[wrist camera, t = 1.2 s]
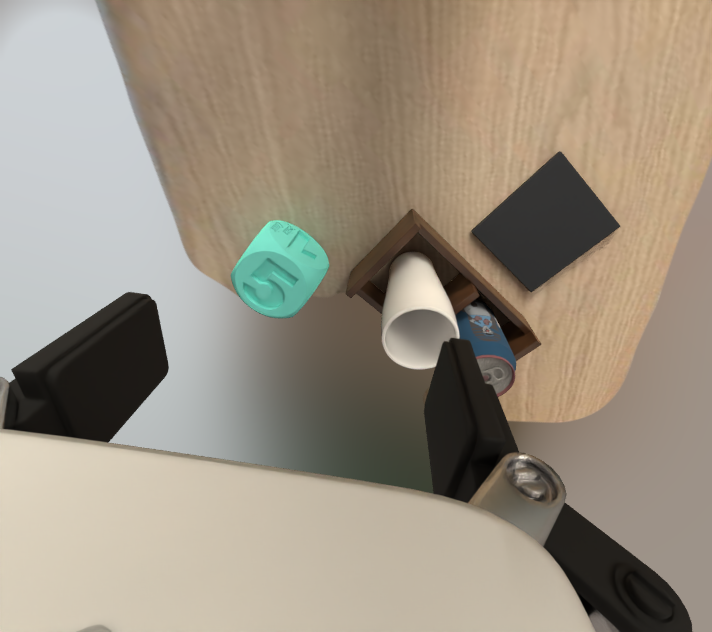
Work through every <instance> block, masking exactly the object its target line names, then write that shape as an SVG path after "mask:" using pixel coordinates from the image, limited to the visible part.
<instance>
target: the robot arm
mask: <svg viewBox="0 0 712 632" xmlns="http://www.w3.org/2000/svg"><path fill="white" fill-rule="evenodd" d="M168 368H169V367H168V360H167V356H166V350H165V345H164V340H163V335H162V330H161V325H160V320H159V315H158V310H157V305H156V303H155V301H154V300H152V299H151V297H150V296H149V295H147V294H140V293H132V292H128V293H125V294H124V295H122V296H121V297H119V298H118V299H116V300H115V301H113V302H112V303H110V304H109V305H108V306H106V307H104V308H103V309H101V310H100V311H98V312H97V313H95V314H94V315H92V316H91V317H89V318H88V319H86V320H85V321H83V322H82V323H80V324H79V325H77V326H76V327H74V328H73V329H71V330H70V331H68V332H67V333H65V334H64V335H62V336H61V337H59V338H58V339H56V340H55V341H53V342H52V343H50V344H49V345H47V346H46V347H45V348H43V349H41V350H40V351H38V352H37V353H35V354H34V355H32V356H31V357H29V358H28V359H26V360H25V361H23V362H22V363H20V364H19V365H17V366H16V367H14V368H13V369H12V372H13V374H14V376H15V378H16V379H14V380H13V381H12V382H10V383H9V382H8V381H7V380H6V379H4V378H3V377H0V632H692V623H691V620H690V617H689V615H688V612H687V610H686V608H685V606H684V605H683V603H682V601H681V600H680V598H679V597H678V595H677V594H676V593H675V591H674V590H673V589H672V588H671V587H670V586H669V584H668V583H667V582H666V581H665V580H663V579H662V578H661V577H660V576H659V575H658V574H657V573H656V572H654V571H653V570H652V569H651V568H649V567H648V566H647V565H645V564H644V563H643V562H641V561H640V560H639V559H638V558H636V557H635V556H633V555H632V554H631V553H630V552H628V551H627V550H626V549H625V548H623V547H622V546H621V545H619V544H618V543H617V542H616V541H614V540H613V539H611V538H610V537H609V536H608V535H606V534H605V533H604V532H603V531H601V530H600V529H599V528H597V527H596V526H595V525H593V524H592V523H591V522H589V521H588V520H587V519H586V518H584V517H583V516H582V515H580V514H579V513H578V512H577V511H575V510H574V509H573V508H571V507H570V506H569V505H567V504H566V503H565V499H566V490H565V486H564V484H563V482H562V480H561V479H560V477H559V476H558V474H557V473H556V472H555V471H554V470H553V469H552V468H551V467H550V466H549V465H547V464H546V463H545V462H544V461H542V460H540V459H538V458H536V457H534V456H532V455H529V454H526V453H519V451H518V448H517V445H516V443H515V440H514V438H513V435H512V433H511V430H510V427H509V425H508V422H507V420H506V417H505V415H504V412H503V409H502V407H501V404H500V402H499V399H498V397H497V394H496V391H495V389H494V387H493V386H492V385H491V384H487V383H485V381H484V378H483V376H482V373H481V370H480V367H479V364H478V362H477V359H476V356H475V353H474V351H473V348H472V345H471V342H470V341H469V340H466V339H458V338H450V340H449V342H448V341H444V342H443V344H442V347H441V350H440V354H439V357H438V361H437V364H436V367H435V371H434V374H433V378H432V381H431V385H430V388H429V392H428V395H427V398H426V402H425V409H424V415H425V424H426V432H427V441H428V449H429V457H430V466H431V474H432V482H433V491H434V494H432V493H427V492H423V491H418V490H413V489H408V488H402V487H396V486H390V485H384V484H378V483H373V482H367V481H361V480H355V479H348V478H342V477H335V476H329V475H323V474H316V473H309V472H303V471H296V470H290V469H284V468H277V467H271V466H263V465H257V464H251V463H244V462H237V461H231V460H224V459H217V458H211V457H204V456H197V455H190V454H183V453H177V452H170V451H163V450H156V449H149V448H142V447H135V446H128V445H121V444H114V443H108V442H109V441H110V440H111V439H112V438H113V436H114V435H115V434H116V433H117V432H118V431H119V430H120V428H121V427H122V426H123V425H124V424H125V423H126V421H127V420H128V419H129V418H130V417H131V416H132V414H133V413H134V412H135V411H136V410H137V409H138V408H139V406H140V405H141V404H142V403H143V402H144V400H146V398H147V397H148V396H149V395H150V394H151V392H152V391H153V390H154V389H155V388H156V387H157V386H158V385H159V383H160V382H161V381H162V380H163V379H164V378H165V376H166V375H167V373H168Z"/></svg>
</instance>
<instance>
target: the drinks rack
mask: <svg viewBox="0 0 712 632" xmlns="http://www.w3.org/2000/svg"><path fill="white" fill-rule="evenodd" d="M416 233H419V234H420V235H421V236H422V237H423V238H424V239H426V240H427V241H428V242H429V243H430V244H431V245H432V246H433V247H434V248H435V249H436V250H437V251H438V252H439V253H440V254H441V255H442V256H443V257H444V258H445V259H447V260H448V261H449V262H450V263H451V264H452V265H453V266H454V267H455V268H456V269H457V270H458V271H459V272H460V274H459V275H457V276H456V277H455V278H454V279H453V280H452V281H450V282H449V283H448V284H447V285H446V286H445V287H443V288H444V290H445V292H446V293H447V295H448V297H449V300H450V302H451V304H452V307H453V310H454V313H455V315H456V314H457V313H459V312H460V311H461V310H462V309H464V308H465V307H466V306H467V305H469V304H470V303H471V302H472V301H474V300H475V299H476V298H478V297H479V294H478V292H477V289H478V290H479V291H480V292H481V293H482V294H483V295H484V296H485V297H486V298H487V299H489V300H490V301H491V302H492V303H493V304H494V305H495V306H496V307H497V308H498V309H499V310H500V311H501V312H502V313H503V314H504V315H505V316H506V317H507V318H509V319H510V320H511V321H510V322H508V323H507V324H506V325H504V326H503V327H501V330H502V332H503V334H504V336H505V338H506V340H507V342H508V344H509V346H510V348H511V350H512V352H513V354H514V356H515V359H516V361H517V360H518V359H520V358H522V357H523V356H525V355H526V354H528V353H529V352H531V351H532V350H534V349H535V348H537V347H538V346H540V345H541V343H540V341H539V340H538V338H537V337H536V335H535V333H534V332H533V330H532V329H531V327H530V326H529V324H528V322H527V321H526V319H525V318H524V317H523V316H522V315H521V314H520V313H519V312H518V311H517V310H516V309H515V308H514V307H513V306H512V305H511V304H510V303H509V302H508V301H507V300H506V299H505V298H504V297H503V296H502V295H501V294H500V293H499V292H498V291H497V290H496V289H495V288H494V287H493V286H492V285H490V284H489V283H488V282H487V281H486V280H485V279H484V278H483V277H482V276H481V275H480V274H479V273H478V272H477V271H476V270H475V269H474V268H473V267H472V266H471V265H470V264H469V263H468V262H467V261H466V260H465V259H464V258H463V257H462V256H461V255H460V254H459V253H458V252H457V251H456V250H455V249H453V248H452V247H451V246H450V245H449V244H448V243H447V242H446V241H445V240H444V239H443V238H442V237H441V236H440V235H439V234H438V233H437V232H436V231H435V230H434V229H433V228H432V227H431V226H430V225H429V224H428V223H427V222H426V221H425V220H424V219H423V218H422V217H421V216H420V215H419V214H418V213H417V212H416V211H414V210H413V209H411V210H410V211H409V212H408V213H407V214H406V216H405V217H404V218H403V219H402V220H401V221H400V222H399V223H398V224H397V225H396V226H395V227H394V228H393V229H392V230H391V231H390V232H389V233H388V234H387V235H386V236H385V237H384V238H383V239H382V240H381V241H380V242H379V243H378V245H377V246H376V247H375V248H374V249H373V250H372V251H371V252H370V253H369V254H368V255H367V256H366V257H365V258H364V259H363V260H362V261H361V262H360V263H359V264H358V265H357V266H356V267H355V268H354V269H353V270H352V271H351V274H350V278H349V282H348V286H347V290H346V295H348V296H349V297H350V298H352V297H353V296H354V295H355V294H356V293H357V294H358V295H359V296H360V297H362V298H363V299H364V300H365V301H367V302H368V303H369V304H370V305H371V306H373V307H374V308H375V309H376V310H377V311H379V312H380V313H381V314H382V311H383V305H384V300H385V296H386V294H385V293H384V292H383V291H381V290H380V289H379V288H378V287H377V286H375V285H374V284H373V283H372V282H371V281H370V279H371V278H372V277H373V276H374V275H375V274H376V273H377V272H378V271H379V270H380V269H381V268H382V267H383V266H384V265H385V264H386V263H387V262H388V261H389V260H390V259H391V258H392V257H393V256H394V255H395V254H396V253H397V252H398V251H399V250H400V249H401V248H402V247H403V246H404V245H405V244H406V243H407V242H408V241H409V240H410V239H411V238H412V237H413V236H414V235H415V234H416ZM476 288H477V289H476Z"/></svg>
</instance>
